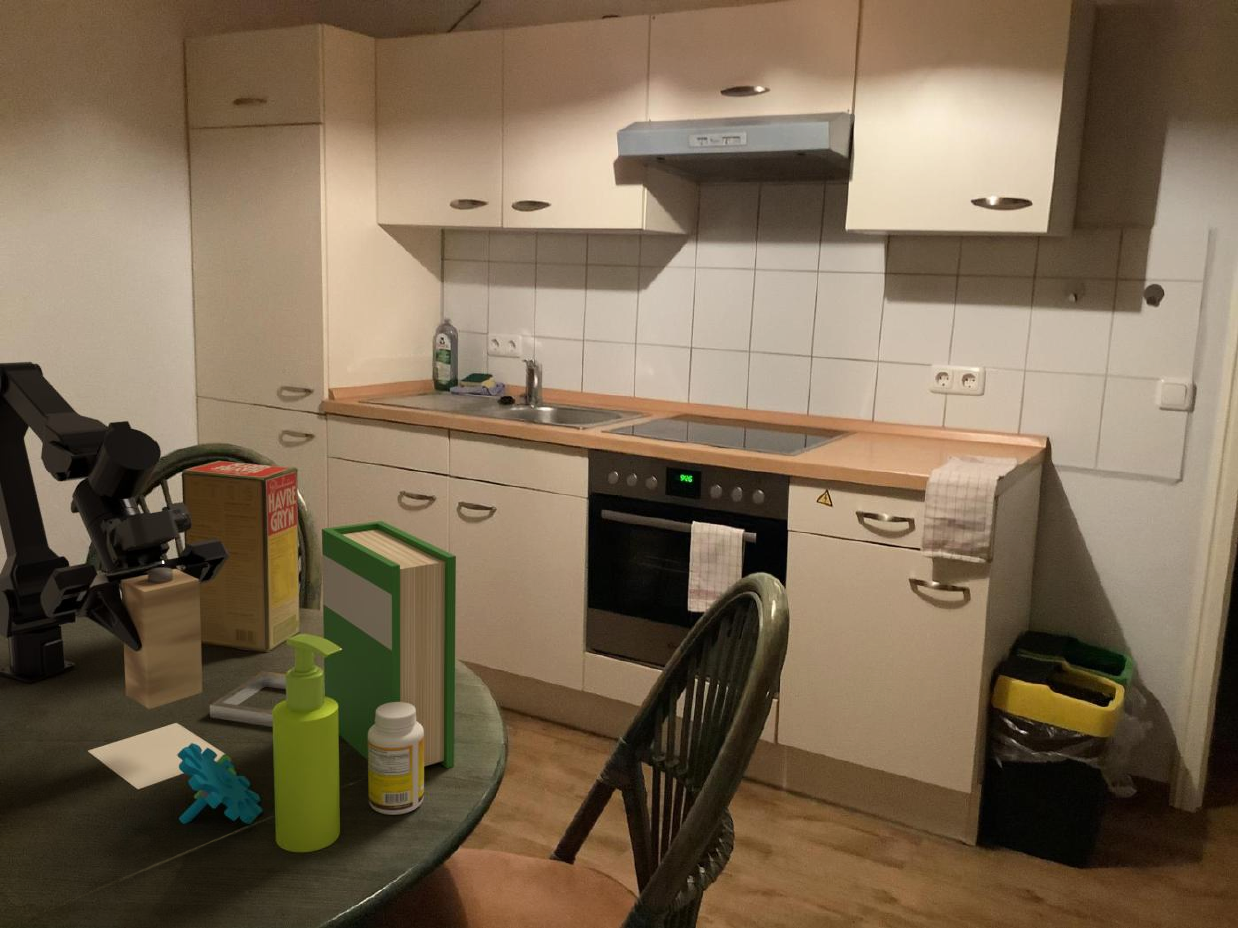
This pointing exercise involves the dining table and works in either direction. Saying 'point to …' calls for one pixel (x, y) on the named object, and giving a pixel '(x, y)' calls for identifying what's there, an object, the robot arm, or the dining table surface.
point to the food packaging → (247, 551)
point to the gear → (217, 785)
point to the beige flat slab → (150, 755)
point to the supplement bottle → (396, 759)
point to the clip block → (163, 637)
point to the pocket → (229, 702)
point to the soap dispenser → (306, 753)
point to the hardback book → (390, 632)
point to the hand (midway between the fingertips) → (168, 641)
